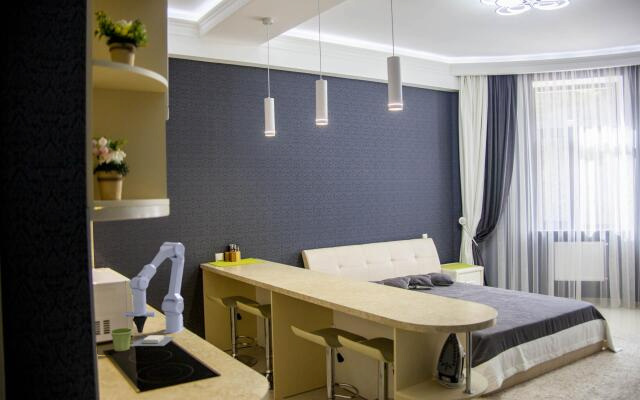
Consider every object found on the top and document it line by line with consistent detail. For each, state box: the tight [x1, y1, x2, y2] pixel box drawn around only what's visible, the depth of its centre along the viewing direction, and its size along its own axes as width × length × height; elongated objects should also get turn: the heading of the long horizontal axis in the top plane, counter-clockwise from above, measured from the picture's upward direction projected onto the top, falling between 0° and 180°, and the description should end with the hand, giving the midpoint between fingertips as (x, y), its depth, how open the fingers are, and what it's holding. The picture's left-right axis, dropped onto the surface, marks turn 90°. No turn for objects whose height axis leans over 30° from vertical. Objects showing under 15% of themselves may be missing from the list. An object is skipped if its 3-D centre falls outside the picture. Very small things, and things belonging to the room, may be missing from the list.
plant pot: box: [109, 327, 134, 352], centre depth 238 cm, size 9×9×9 cm
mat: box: [130, 336, 176, 347], centre depth 250 cm, size 14×16×1 cm
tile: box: [143, 334, 165, 343], centre depth 250 cm, size 7×2×7 cm
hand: (140, 332), depth 250 cm, fingers closed
